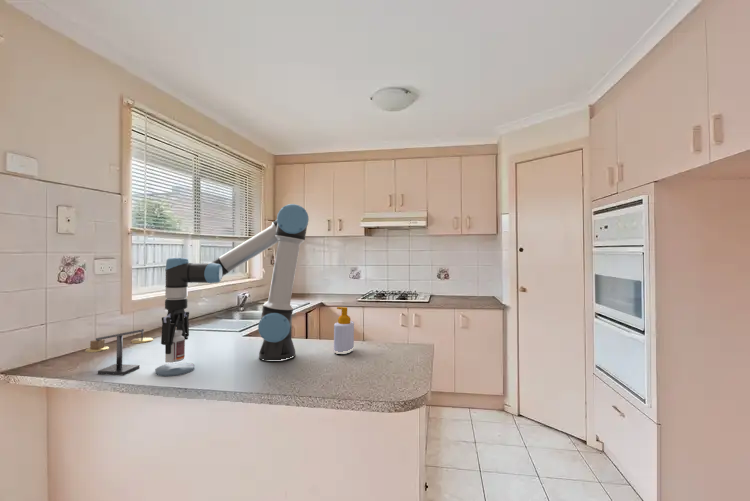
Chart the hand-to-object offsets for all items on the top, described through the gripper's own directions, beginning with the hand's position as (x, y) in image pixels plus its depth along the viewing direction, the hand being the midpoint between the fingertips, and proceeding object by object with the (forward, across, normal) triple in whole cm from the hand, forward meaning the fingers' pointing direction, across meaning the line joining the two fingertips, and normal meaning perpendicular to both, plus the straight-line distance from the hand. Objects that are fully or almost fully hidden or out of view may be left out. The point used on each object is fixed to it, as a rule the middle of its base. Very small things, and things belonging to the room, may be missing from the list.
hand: (175, 359), depth 140 cm
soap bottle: (+4, -34, +59) cm, 68 cm away
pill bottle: (+1, 0, 0) cm, 1 cm away
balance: (+4, +3, -20) cm, 21 cm away
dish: (+4, 0, 0) cm, 4 cm away
